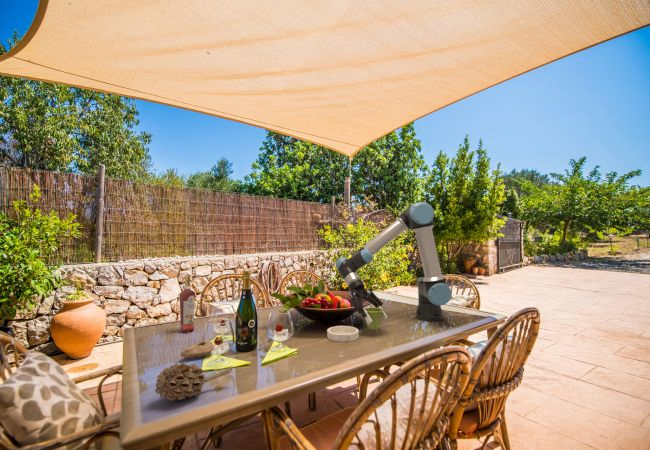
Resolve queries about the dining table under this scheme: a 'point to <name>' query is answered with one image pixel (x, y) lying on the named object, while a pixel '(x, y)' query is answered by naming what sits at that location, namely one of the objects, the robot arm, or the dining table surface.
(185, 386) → the banksia seed pod
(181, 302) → the liquor
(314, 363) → the dining table surface
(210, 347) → the pottery oil lamp
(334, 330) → the saucer
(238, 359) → the dining table surface
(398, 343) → the dining table surface
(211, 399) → the dining table surface
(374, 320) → the plant pot
